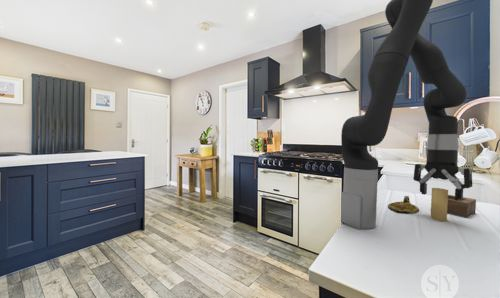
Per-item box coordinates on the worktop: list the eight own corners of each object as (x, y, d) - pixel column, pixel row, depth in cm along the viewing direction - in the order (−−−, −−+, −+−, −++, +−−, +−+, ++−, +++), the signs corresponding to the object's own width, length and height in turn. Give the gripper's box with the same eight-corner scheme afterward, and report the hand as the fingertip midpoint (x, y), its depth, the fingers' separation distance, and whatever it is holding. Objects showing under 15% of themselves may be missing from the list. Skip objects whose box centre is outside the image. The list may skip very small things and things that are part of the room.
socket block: (466, 217, 71) (467, 203, 71) (431, 209, 79) (431, 196, 79) (475, 213, 76) (476, 199, 76) (441, 205, 84) (441, 193, 84)
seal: (414, 220, 71) (420, 210, 82) (417, 207, 71) (422, 198, 81) (383, 210, 78) (392, 202, 89) (385, 198, 77) (394, 191, 88)
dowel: (443, 222, 67) (445, 191, 66) (428, 218, 70) (429, 188, 70) (448, 220, 69) (450, 189, 68) (433, 216, 72) (434, 187, 72)
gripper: (411, 147, 73) (409, 193, 73) (468, 149, 61) (466, 204, 61) (420, 147, 77) (419, 191, 77) (476, 148, 64) (474, 200, 65)
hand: (439, 197), depth 69 cm, fingers open, 8 cm apart
